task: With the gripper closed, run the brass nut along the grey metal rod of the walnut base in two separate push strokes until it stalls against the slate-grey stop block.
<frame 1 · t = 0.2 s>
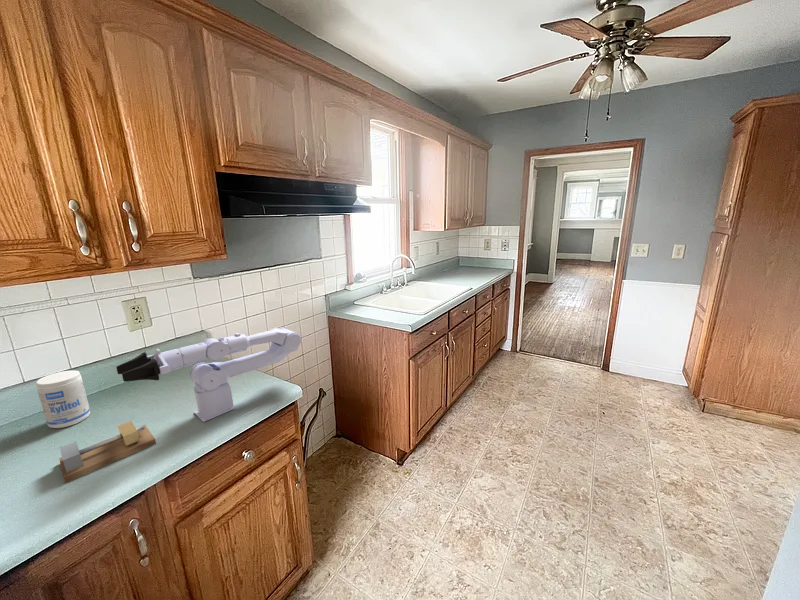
hand: (119, 373, 86), 21 cm above the counter, tool horizontal, fingers open, 7 cm apart
base: (110, 452, 87), on the counter
supplement tub: (71, 420, 102), on the counter
nut: (128, 433, 90), point 3 cm above the counter, slide at 0.0 cm
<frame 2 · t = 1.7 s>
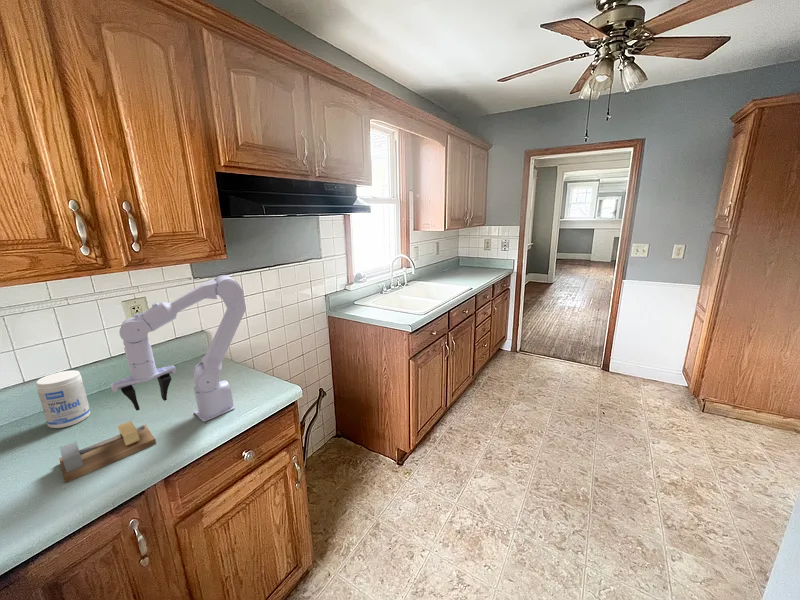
hand: (151, 404, 95), 8 cm above the counter, tool pointing down, fingers open, 6 cm apart
nothing on the counter moved.
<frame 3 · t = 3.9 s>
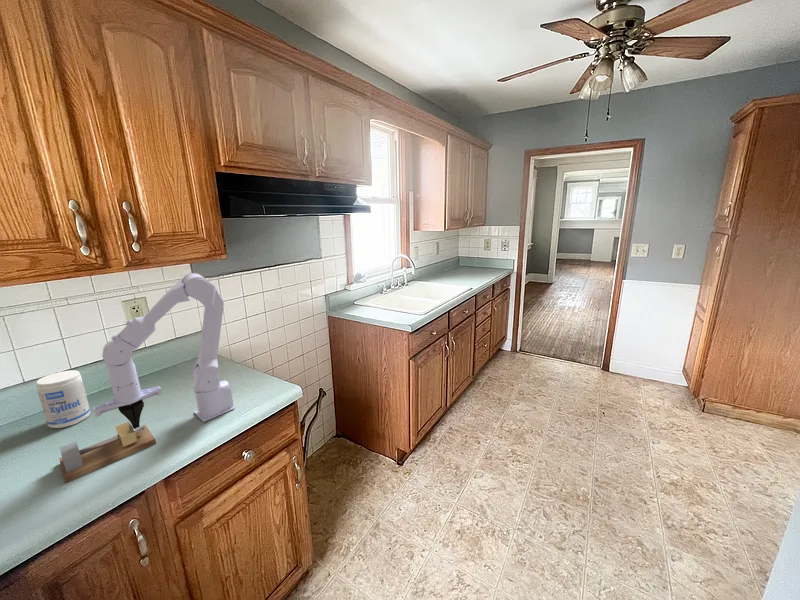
hand: (135, 426, 93), 3 cm above the counter, tool pointing down, fingers closed
nut: (126, 434, 89), point 3 cm above the counter, slide at 0.5 cm, touching gripper
everything else where it was.
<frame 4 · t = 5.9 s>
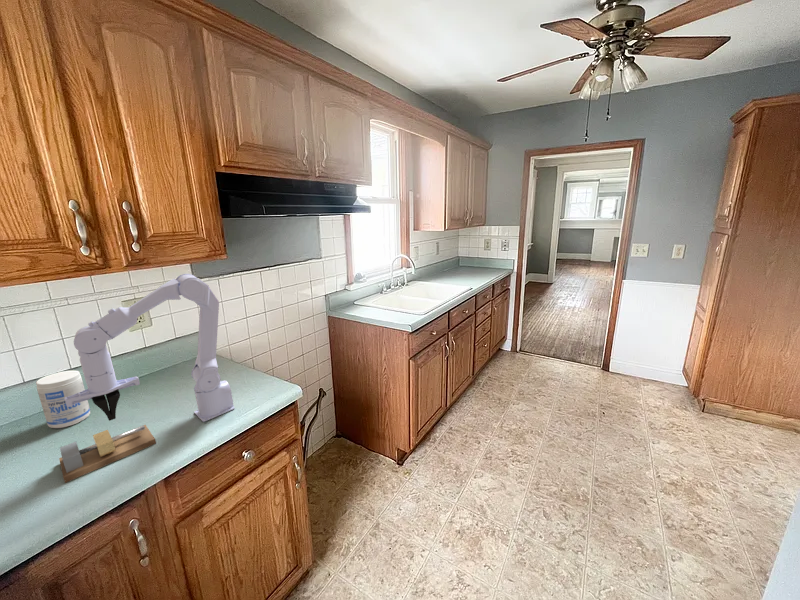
hand: (111, 418, 88), 8 cm above the counter, tool pointing down, fingers closed
nut: (104, 442, 86), point 3 cm above the counter, slide at 5.1 cm
everything else where it was.
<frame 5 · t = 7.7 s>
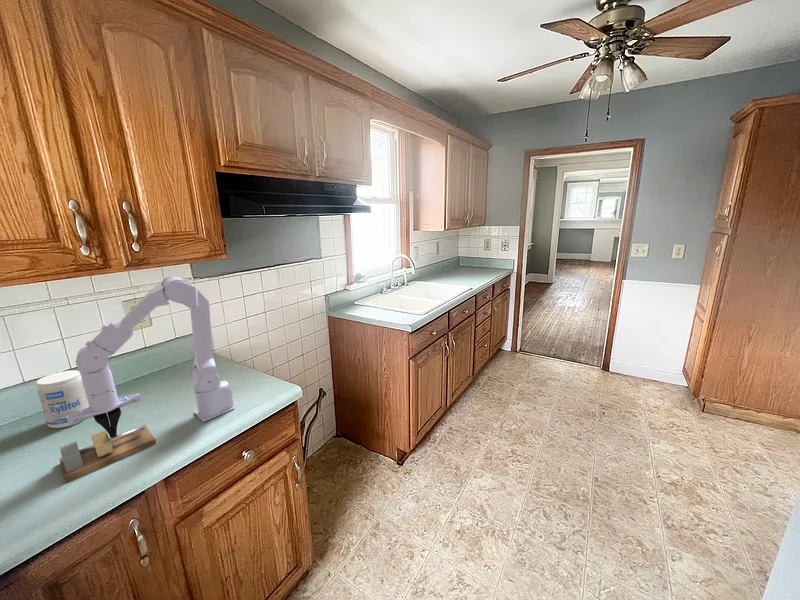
hand: (113, 435, 89), 3 cm above the counter, tool pointing down, fingers closed
nut: (102, 443, 86), point 3 cm above the counter, slide at 5.5 cm, touching gripper
everything else where it was.
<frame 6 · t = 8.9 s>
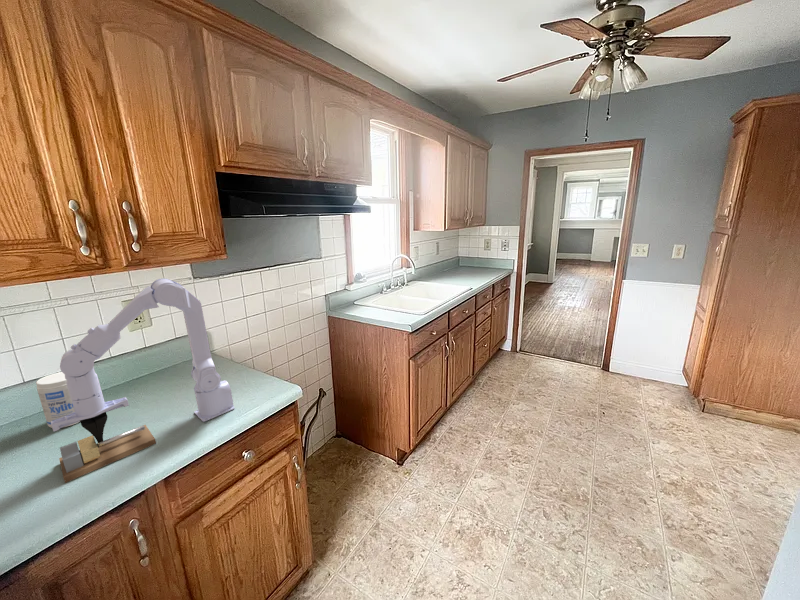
hand: (99, 440, 87), 3 cm above the counter, tool pointing down, fingers closed
nut: (88, 448, 84), point 3 cm above the counter, slide at 8.1 cm, touching gripper
everything else where it was.
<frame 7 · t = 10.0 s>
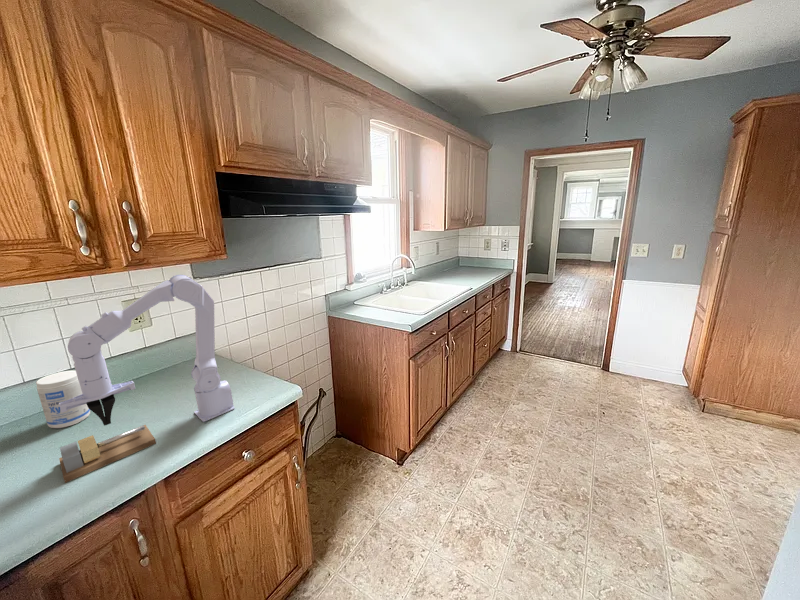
hand: (107, 423, 88), 7 cm above the counter, tool pointing down, fingers closed
nut: (89, 448, 84), point 3 cm above the counter, slide at 8.0 cm
everything else where it was.
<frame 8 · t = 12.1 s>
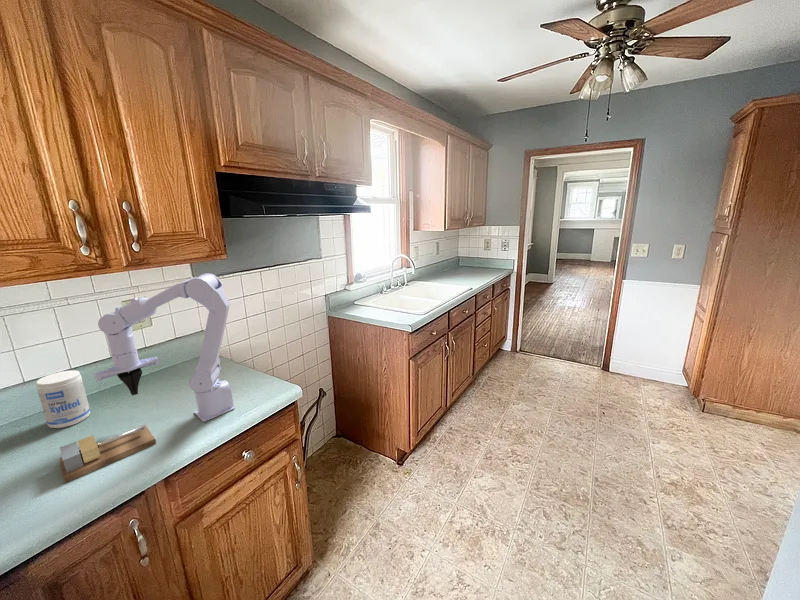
hand: (134, 393, 99), 9 cm above the counter, tool pointing down, fingers closed
nothing on the counter moved.
at the end: nut slide at 8.0 cm; the gripper is holding nothing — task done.
